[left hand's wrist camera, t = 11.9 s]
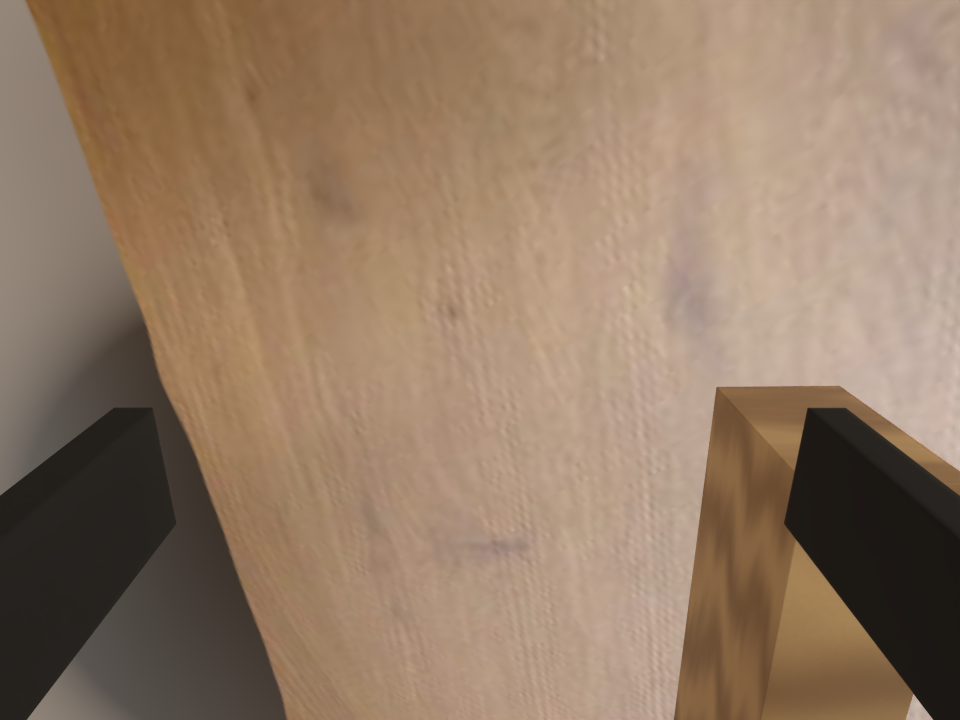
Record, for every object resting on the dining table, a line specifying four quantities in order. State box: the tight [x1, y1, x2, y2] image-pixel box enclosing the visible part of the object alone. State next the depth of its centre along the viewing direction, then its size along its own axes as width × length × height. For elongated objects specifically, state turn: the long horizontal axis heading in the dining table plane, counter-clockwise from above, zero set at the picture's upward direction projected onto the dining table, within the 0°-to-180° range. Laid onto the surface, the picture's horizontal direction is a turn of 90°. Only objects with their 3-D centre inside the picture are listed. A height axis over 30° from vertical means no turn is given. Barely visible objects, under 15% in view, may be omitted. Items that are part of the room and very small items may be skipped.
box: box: [674, 386, 960, 720], centre depth 30 cm, size 28×6×9 cm, turn 1°
